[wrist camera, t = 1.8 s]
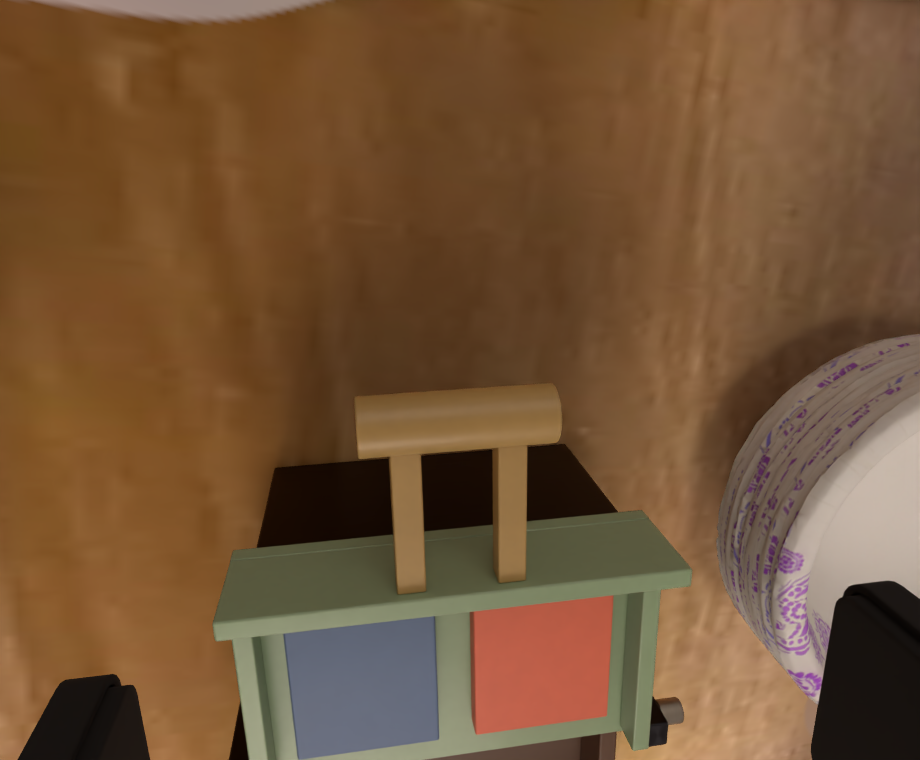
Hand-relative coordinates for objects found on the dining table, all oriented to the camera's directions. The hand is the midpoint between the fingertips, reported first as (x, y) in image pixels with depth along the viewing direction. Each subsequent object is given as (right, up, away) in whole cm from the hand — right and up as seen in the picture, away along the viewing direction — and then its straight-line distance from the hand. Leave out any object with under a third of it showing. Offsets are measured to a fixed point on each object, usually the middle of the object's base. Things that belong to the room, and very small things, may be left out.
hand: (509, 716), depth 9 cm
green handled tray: (-1, -2, +13) cm, 14 cm away
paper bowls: (+17, 0, +23) cm, 28 cm away
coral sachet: (+2, -4, +14) cm, 15 cm away
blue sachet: (-4, -5, +13) cm, 15 cm away
